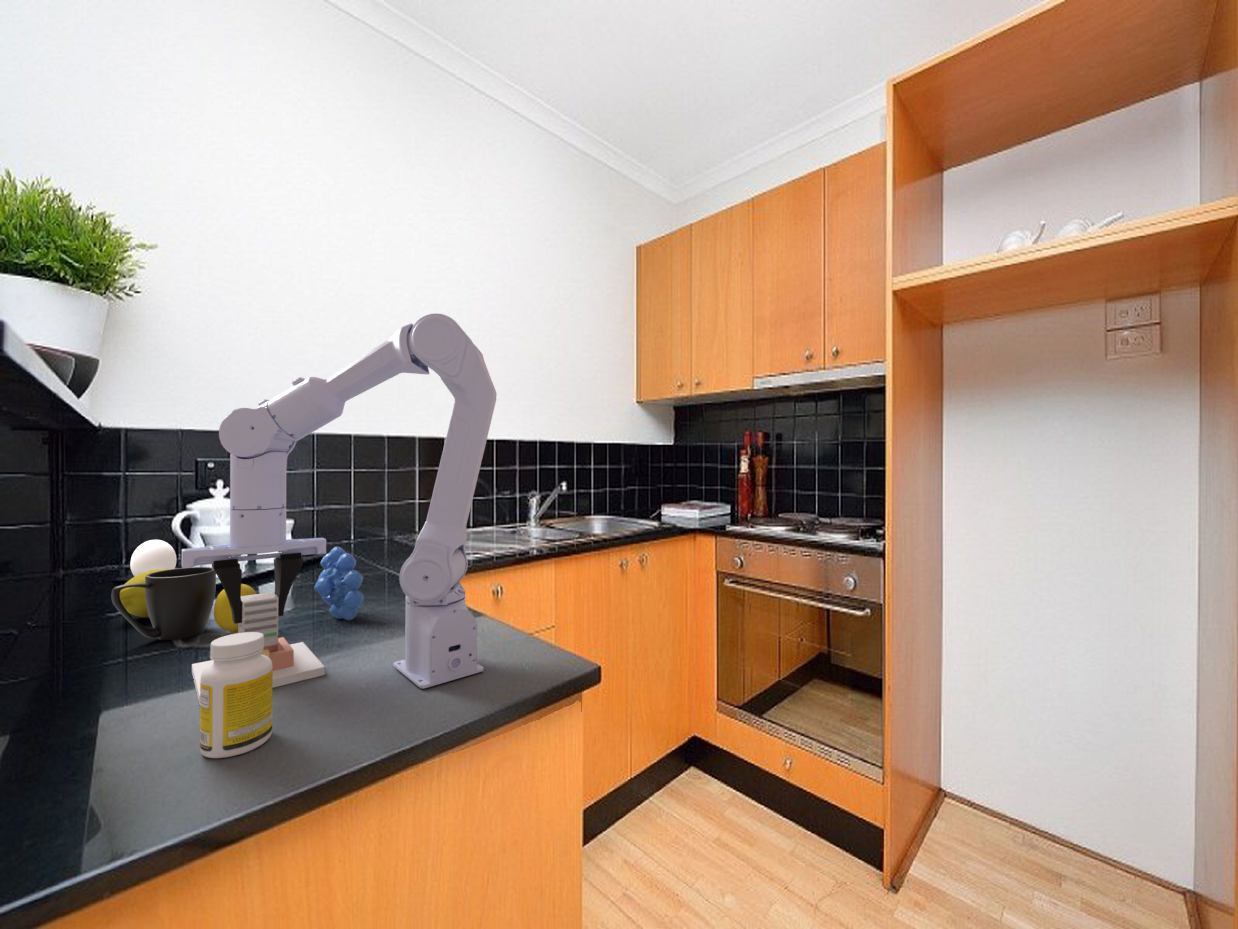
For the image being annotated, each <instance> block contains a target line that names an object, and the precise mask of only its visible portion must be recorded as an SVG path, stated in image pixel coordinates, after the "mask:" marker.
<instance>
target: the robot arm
mask: <svg viewBox="0 0 1238 929" xmlns="http://www.w3.org/2000/svg"><path fill="white" fill-rule="evenodd" d="M488 369H489V368H488V367H487V364H486V362H485V358H484V354H483V353H482V351H481V350H480V349H479V348H478V346H476V344H474V342H473V340H472V339H471V337H469V335H468V334H467V333H466V332H465V331H464V330H463V328H462V327H461V326H460V324H458V322H457V321H456V320H454V318H452V317H450V316H448V315H445V314H442V313H429V314H427V315H424V316H422V317H420V318H419V319H418V320H416V322H415V323H414V324H413V323H409V324H406V325H404V326H401V327H400V328H399V329H398V330H397V331H396V332H395V333H394V334H392V336H391V337H390V338H388V339H387V340H385V341H384V342H382V343H381V344H379V345H378V346H376V347H374V348H373V349H371V350H370V351H368V352H367V353H365V354H364V355H362V356H361V357H359V358H357V359H356V360H355V361H353V362H351V363H350V364H349V365H346V366H345V367H343V368H341V370H339V371H337V372H336V373H334V374H333V375H332V376H329V378H327V379H326V378H325V379H323V378H320V377H315V376H310V377H308V378H303V377H301V376H300V377H297V378H296V379H294V380H292V381H291V384H292V385H293V386H292V387H290V388H288V389H286V390H285V391H283V392H282V393H280V394H278V395H276V396H274V397H272V398H271V399H263V400H261V401H259V402H258V403H257V408H249V407H240V408H239V407H238V408H234V409H233V410H232V411H231V413H229V414H228V415H227V416H225V417H224V419H223V420H222V421H221V423H220V425H219V428H218V429H219V430H218V438H219V440H220V445H221V446H222V447H223V449H225V450H226V451H227V452H228V453H230V455H229V456H230V457H229V459H230V464H229V465H230V466H229V467H230V469H229V470H230V472H229V473H230V474H229V479H230V481H229V483H230V484H229V487H230V489H229V490H230V491H229V493H230V496H229V500H230V501H229V504H230V505H229V506H230V507H229V508H230V511H229V514H230V515H229V543H227V544H217V545H209V546H202V547H191V548H182V549H181V568H188V567H199V566H207V565H211V567H212V568H213V569H214V571H215V573H216V577H217V578H218V580H219V582H220V583H221V586H222V587H223V589H224V590H225V592H226V595H227V597H228V600H229V604H230V607H231V612H232V620H233V622H234V624H237V623H242V608H241V584H242V575H243V570H242V569H241V563H239V562H245V561H257V560H266V559H273V572H274V593H275V594H276V595H277V596H278V618H279V617H284V613H285V607H286V603H287V599H288V596H289V594H290V591H291V589H292V586H293V584H294V581H295V579H296V577H297V576H298V574H299V572H300V570H301V569H302V567H303V564H304V558H303V557H302V556H306V555H326V554H327V539H326V538H324V537H313V538H293V539H289V538H288V539H287V467H288V457H289V454H291V452H292V451H293V450H294V449H295V447H296V444H297V442H298V441H300V440H302V439H304V438H305V437H306V436H308V435H310V434H312V433H314V432H315V431H317V430H320V429H321V428H322V427H324V426H326V425H327V424H329V423H331V422H332V421H335V420H336V419H338V418H340V417H341V416H342V415H343V413H344V408H345V404H346V402H347V401H349V400H351V399H353V398H355V397H357V396H359V395H361V394H364V393H365V392H367V391H369V390H370V389H372V388H374V387H377V386H378V385H380V384H382V383H384V382H386V381H388V380H391V379H392V378H394V377H396V376H398V375H399V374H404V373H405V374H406V373H407V374H414V375H416V374H417V375H418V374H419V375H430V370H432V371H433V372H434V373H436V375H438V376H439V377H440V380H441V381H442V382H443V385H445V387H446V388H447V390H448V391H449V393H450V394H451V395H452V396H453V398H454V402H453V403H454V404H453V408H452V412H451V416H450V420H449V424H448V429H447V433H446V437H445V441H444V445H443V450H442V454H441V457H440V462H439V466H438V470H437V474H436V478H435V482H434V486H433V491H432V496H431V499H430V502H429V503H430V504H429V507H428V511H427V516H426V519H425V520H426V521H425V522H424V524H423V527H422V529H421V530H420V531H419V534H418V536H417V538H416V540H415V546H414V549H413V551H412V553H411V554H410V556H409V557H408V558H407V559H406V560H405V561H404V563H403V564H402V566H401V568H400V571H399V577H398V578H399V579H398V580H399V584H400V588H401V590H402V592H403V594H404V595H405V609H404V610H405V614H404V615H405V616H404V617H405V624H404V626H405V627H404V631H405V633H404V635H405V636H404V637H405V638H404V641H405V642H404V644H405V645H404V648H405V649H404V650H405V651H404V654H405V655H404V658H405V659H400V660H397V661H395V662H393V664H392V665H393V667H394V668H395V669H396V670H397V671H399V672H400V673H401V674H402V675H403V676H405V677H406V678H408V680H410V681H411V682H412V683H413V684H414V685H416V687H418V688H420V689H427V688H431V687H434V686H438V685H441V684H445V683H448V682H450V681H455V680H458V679H461V678H464V677H468V676H472V675H475V674H478V673H482V672H483V671H484V666H483V665H481V664H479V663H478V624H477V620H476V618H475V615H474V614H473V613H472V612H471V611H470V610H469V608H468V607H467V605H466V604H467V603H466V590H465V589H464V587H463V585H462V583H461V580H462V579H463V578H464V577H465V575H466V573H467V570H468V566H469V565H468V564H469V563H468V557H467V553H466V544H467V540H468V532H467V524H468V520H469V515H470V511H471V507H472V503H473V499H474V495H475V491H476V486H477V483H478V477H479V474H480V470H481V465H482V460H483V456H484V453H485V449H486V444H487V440H488V435H489V433H490V432H489V431H490V428H491V425H492V424H491V423H492V421H493V420H492V419H493V415H494V411H495V407H496V403H497V395H498V394H497V390H496V388H495V385H494V382H493V380H492V377H491V375H490V373H489V370H488ZM243 555H244V556H243Z"/></svg>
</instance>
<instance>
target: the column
mask: <svg viewBox="0 0 1238 929" xmlns="http://www.w3.org/2000/svg"><path fill="white" fill-rule="evenodd" d="M241 608H242V623H238V633H245V632H259V633H262V634H263V635H264V647H266V646H271V645H276V644H278V638H279V617H278V596H277V595H276V594H275V591H274V592H273V591H270V592H264V593H263V592H262V593H256V594H254V595H247V596H241Z"/></svg>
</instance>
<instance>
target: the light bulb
mask: <svg viewBox="0 0 1238 929" xmlns="http://www.w3.org/2000/svg"><path fill="white" fill-rule="evenodd" d="M129 563H130V564H129V566H130V570H131V573H132V575H133V577H135V576H137V575H139V574H141V573H144V572H148V571H152V570H157V569H176V565H177V554H176V551H175V549H174V548H173V546H172V545H171V544H169V543H168V542H166V541H164V540H161V539H150V540H146V541H144V542H143V543H141V544H140V545H138V546H137V547H136V548H135V550H134V551H133V553H132V554H131V558H130V562H129Z"/></svg>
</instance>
